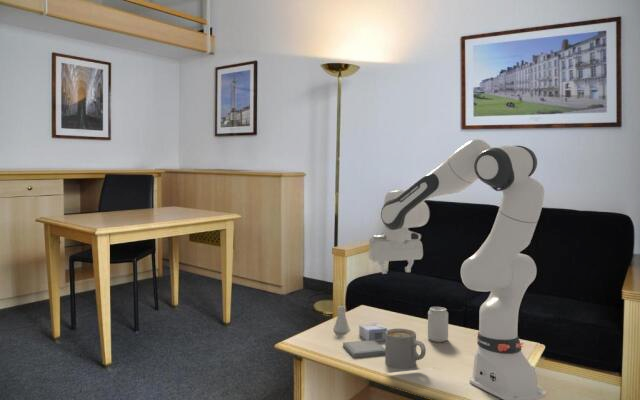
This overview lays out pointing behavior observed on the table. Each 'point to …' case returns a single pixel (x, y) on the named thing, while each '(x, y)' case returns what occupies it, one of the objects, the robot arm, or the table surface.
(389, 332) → the coffee mug
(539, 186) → the robot arm
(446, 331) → the can
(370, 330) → the medicine box
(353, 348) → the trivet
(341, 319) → the flask
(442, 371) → the table surface
